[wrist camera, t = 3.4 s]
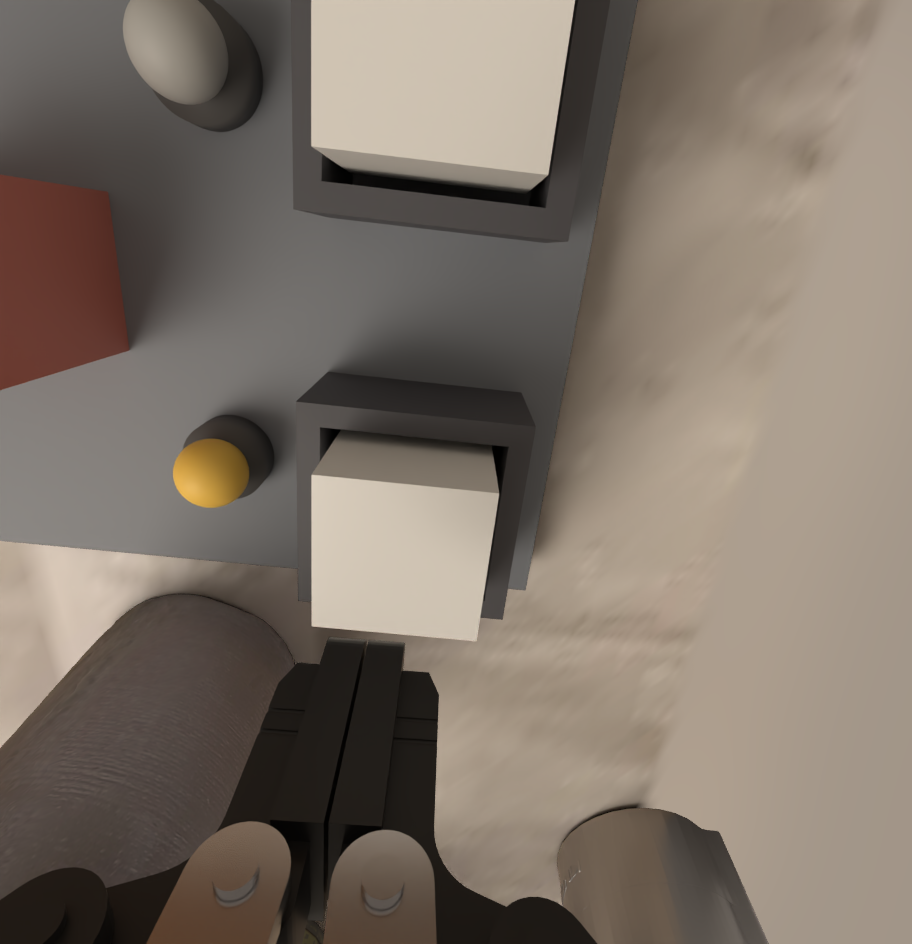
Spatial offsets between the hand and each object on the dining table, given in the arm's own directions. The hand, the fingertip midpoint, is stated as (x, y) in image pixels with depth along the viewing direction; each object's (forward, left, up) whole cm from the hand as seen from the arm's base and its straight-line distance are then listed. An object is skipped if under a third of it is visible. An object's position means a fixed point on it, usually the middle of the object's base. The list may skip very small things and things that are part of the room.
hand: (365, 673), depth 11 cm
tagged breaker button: (0, 0, -8) cm, 8 cm away
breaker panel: (+6, -6, -13) cm, 15 cm away
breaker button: (0, -12, -8) cm, 14 cm away
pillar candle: (+10, +13, -13) cm, 21 cm away
